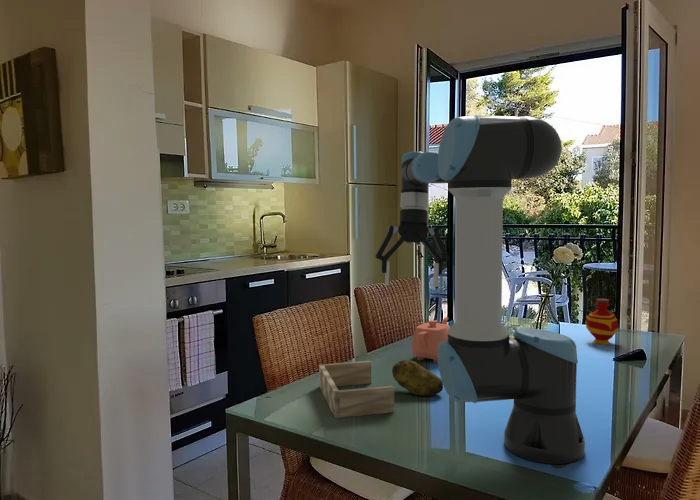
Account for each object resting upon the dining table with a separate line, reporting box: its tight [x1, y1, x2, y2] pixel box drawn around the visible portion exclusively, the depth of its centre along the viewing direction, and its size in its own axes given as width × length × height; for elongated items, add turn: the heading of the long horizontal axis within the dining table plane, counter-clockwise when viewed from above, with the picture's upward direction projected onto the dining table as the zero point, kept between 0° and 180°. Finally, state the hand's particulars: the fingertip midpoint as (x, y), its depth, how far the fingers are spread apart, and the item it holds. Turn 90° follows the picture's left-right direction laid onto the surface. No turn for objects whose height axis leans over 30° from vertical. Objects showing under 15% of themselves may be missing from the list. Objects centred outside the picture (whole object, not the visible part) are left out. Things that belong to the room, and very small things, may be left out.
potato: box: [391, 359, 444, 397], centre depth 140 cm, size 8×13×8 cm, turn 46°
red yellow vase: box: [584, 298, 619, 345], centre depth 186 cm, size 10×10×15 cm
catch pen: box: [318, 360, 395, 419], centre depth 137 cm, size 22×14×6 cm, turn 12°
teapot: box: [411, 316, 451, 364], centre depth 171 cm, size 20×12×12 cm, turn 145°
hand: (411, 286), depth 150 cm, fingers open, 13 cm apart
